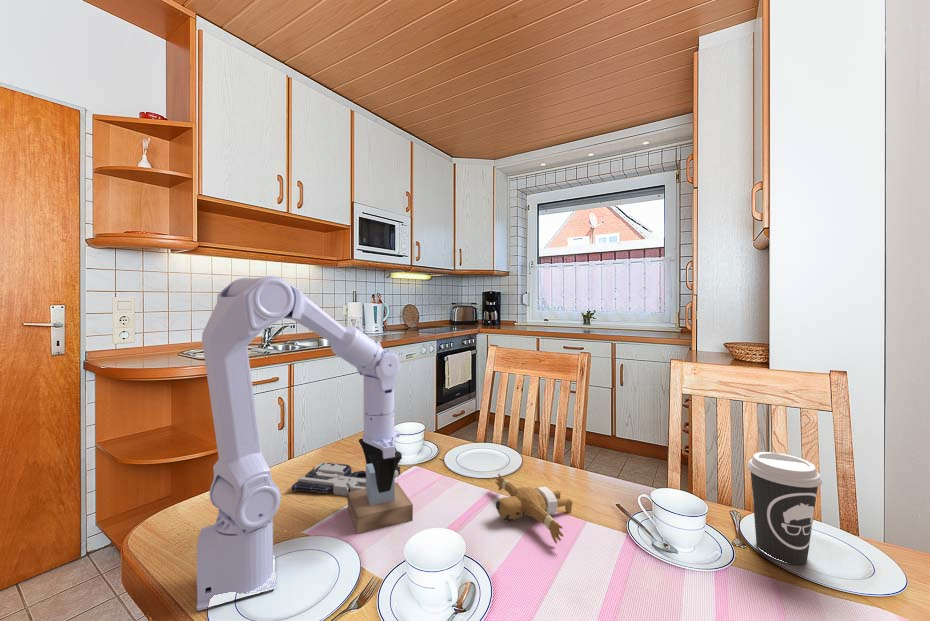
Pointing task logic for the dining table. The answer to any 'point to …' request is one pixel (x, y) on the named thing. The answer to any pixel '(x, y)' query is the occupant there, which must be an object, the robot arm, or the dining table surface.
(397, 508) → the walnut base
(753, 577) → the dining table surface
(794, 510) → the coffee cup
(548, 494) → the toy
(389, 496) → the slate block
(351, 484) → the toy gun
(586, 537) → the dining table surface
